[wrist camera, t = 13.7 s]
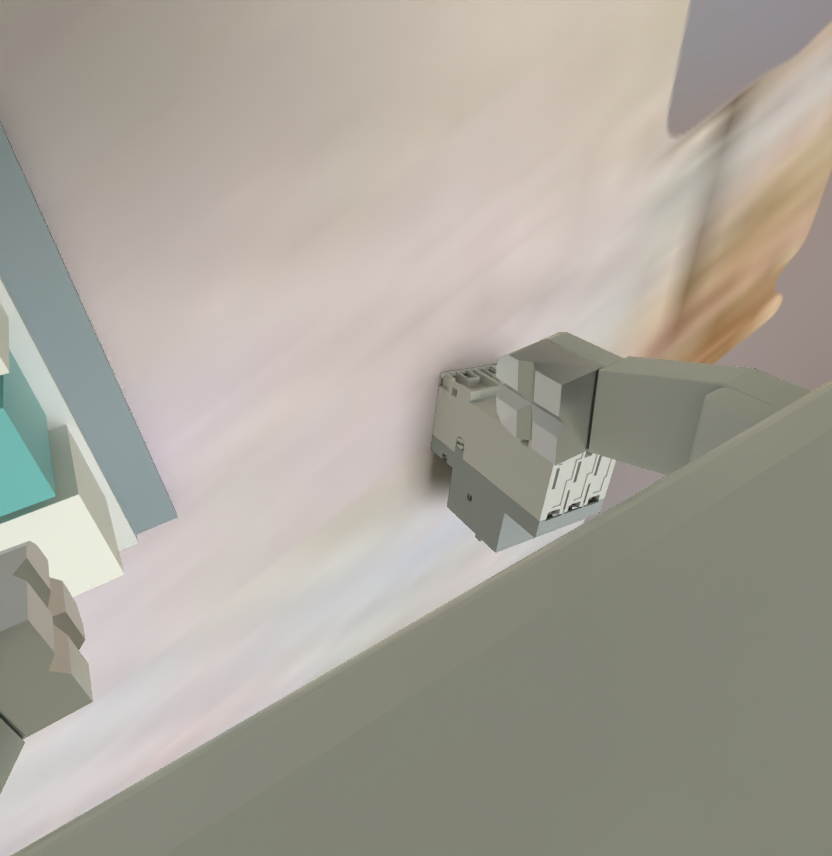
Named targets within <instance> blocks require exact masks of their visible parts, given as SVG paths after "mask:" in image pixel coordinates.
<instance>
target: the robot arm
mask: <svg viewBox="0 0 832 856" xmlns="http://www.w3.org/2000/svg"><path fill="white" fill-rule="evenodd" d="M496 378H497V379H498V380H499V381H500V382H501V383H502V386H501V388H500V390H499V392H498V394H497V396H496V406H497V413H498V416H499V418H500V421H501V423H502V425H503V426H504V427H505V428H506V430H507V431H508V432H509V433H511V434H512V435H513V436H515V437H516V438H520V439H525V440H530V444H531V449H532V450H534V451H535V452H537V453H538V454H539V455H541V456H542V457H543V458H545V459H546V460H548V461H549V462H550V463H552V464H553V465H555V466H556V465H558V464H560V463H562V462H564V461H566V460H568V459H570V458H572V457H575V456H577V455H579V454H581V453H583V452H585V451H587V450H589V451H588V452H590V453H593V454H597V455H600V456H604V457H607V458H610V459H614V460H617V461H621V462H624V463H628V464H631V465H634V466H638V467H641V468H644V469H648V470H651V471H655V472H658V473H662V474H665V475H667V476H665V477H664V478H662V479H660V480H658V481H657V482H655V483H653V484H651V485H650V486H648V487H647V488H645V489H643V490H641V491H639V492H638V493H636V494H635V495H632V496H631V497H629V498H627V499H625V500H624V501H622V502H620V503H619V504H617V505H615V506H613V507H612V508H610V509H608V510H607V511H605V512H603V513H601V514H600V515H598V516H596V517H594V518H593V519H591V520H589V521H587V522H586V523H584V524H582V525H580V526H579V527H577V528H575V529H574V530H572V531H570V532H568V533H567V534H565V535H563V536H561V537H560V538H558V539H556V540H554V541H553V542H551V543H549V544H548V545H546V546H544V547H542V548H541V549H539V550H537V551H535V552H534V553H532V554H530V555H529V556H527V557H525V558H523V559H522V560H520V561H518V562H516V563H515V564H513V565H511V566H510V567H508V568H506V569H504V570H503V571H501V572H499V573H497V574H496V575H494V576H492V577H491V578H489V579H487V580H485V581H484V582H482V583H480V584H479V585H477V586H475V587H473V588H472V589H470V590H468V591H466V592H465V593H463V594H461V595H460V596H458V597H456V598H454V599H453V600H451V601H449V602H447V603H446V604H444V605H442V606H441V607H439V608H437V609H435V610H434V611H432V612H430V613H428V614H427V615H425V616H423V617H422V618H420V619H418V620H416V621H415V622H413V623H411V624H409V625H408V626H406V627H404V628H403V629H401V630H399V631H397V632H396V633H394V634H392V635H390V636H389V637H387V638H385V639H384V640H382V641H380V642H378V643H377V644H375V645H373V646H372V647H370V648H368V649H366V650H365V651H363V652H361V653H359V654H358V655H356V656H354V657H353V658H351V659H349V660H347V661H346V662H344V663H342V664H340V665H339V666H337V667H335V668H334V669H332V670H330V671H328V672H327V673H325V674H323V675H321V676H320V677H318V678H316V679H315V680H313V681H311V682H309V683H308V684H306V685H304V686H302V687H301V688H299V689H297V690H296V691H294V692H292V693H290V694H289V695H287V696H285V697H283V698H282V699H280V700H278V701H277V702H275V703H273V704H271V705H270V706H268V707H266V708H264V709H263V710H261V711H259V712H258V713H256V714H254V715H252V716H251V717H249V718H247V719H245V720H244V721H242V722H240V723H239V724H237V725H235V726H233V727H232V728H230V729H228V730H226V731H225V732H223V733H221V734H220V735H218V736H216V737H214V738H213V739H211V740H209V741H208V742H206V743H204V744H202V745H201V746H199V747H197V748H195V749H194V750H192V751H190V752H189V753H187V754H185V755H183V756H182V757H180V758H178V759H176V760H175V761H173V762H171V763H170V764H168V765H166V766H164V767H163V768H161V769H159V770H157V771H156V772H154V773H152V774H151V775H149V776H147V777H145V778H144V779H142V780H140V781H138V782H137V783H135V784H133V785H132V786H130V787H128V788H126V789H125V790H123V791H121V792H119V793H118V794H116V795H114V796H113V797H111V798H109V799H107V800H106V801H104V802H102V803H100V804H99V805H97V806H95V807H94V808H92V809H90V810H88V811H87V812H85V813H83V814H81V815H80V816H78V817H76V818H75V819H73V820H71V821H69V822H68V823H66V824H64V825H62V826H61V827H59V828H57V829H56V830H54V831H52V832H50V833H49V834H47V835H45V836H44V837H42V838H40V839H38V840H37V841H35V842H33V843H31V844H30V845H28V846H26V847H25V848H23V849H21V850H19V851H18V852H16V853H14V854H12V855H11V856H832V380H831V381H829V382H827V383H826V384H824V385H822V386H821V387H819V388H817V389H815V390H814V391H810V390H808V389H805V388H803V387H800V386H798V385H795V384H793V383H790V382H788V381H785V380H783V379H780V378H778V377H775V376H773V375H770V374H768V373H766V372H763V371H761V370H758V369H756V368H746V367H736V366H725V365H715V364H704V363H694V362H683V361H673V360H663V359H652V358H642V357H631V356H629V357H627V358H624V359H623V358H621V357H619V356H617V355H615V354H613V353H611V352H608V351H606V350H604V349H602V348H600V347H598V346H596V345H593V344H591V343H589V342H587V341H585V340H583V339H580V338H578V337H576V336H574V335H572V334H570V333H568V332H558V333H556V334H554V335H551V336H549V337H547V338H544V339H542V340H540V341H539V342H536V343H534V344H532V345H529V346H527V347H524V348H522V349H519V350H517V351H514V352H512V353H510V354H507V355H505V356H502V357H500V358H499V361H498V363H497V366H496ZM84 641H85V635H84V629H83V623H82V620H81V617H80V614H79V611H78V608H77V605H76V603H75V601H74V599H73V597H72V596H71V594H70V592H69V590H68V589H67V587H66V586H65V584H64V583H63V581H61V580H57V579H54V578H50V577H49V566H48V559H47V558H46V557H45V555H44V554H43V553H42V551H41V550H40V549H39V547H38V546H37V545H36V544H35V543H33V542H31V541H27V542H24V543H22V544H19V545H16V546H13V547H11V548H8V549H5V550H3V551H0V793H1V791H2V789H3V787H4V785H5V783H6V781H7V779H8V777H9V775H10V772H11V770H12V768H13V766H14V764H15V762H16V760H17V758H18V756H19V754H20V752H21V749H22V747H23V745H24V743H25V742H24V741H23V739H24V738H26V737H28V736H30V735H32V734H34V733H36V732H37V731H39V730H41V729H43V728H45V727H47V726H49V725H50V724H52V723H54V722H56V721H58V720H60V719H62V718H63V717H65V716H67V715H69V714H71V713H73V712H75V711H76V710H78V709H80V708H82V707H84V706H86V705H88V704H89V703H91V702H93V699H92V691H91V682H90V674H89V666H88V663H87V661H86V660H85V658H84V657H83V656H82V654H81V653H80V651H79V649H80V647H81V646H82V644H83V642H84Z"/></svg>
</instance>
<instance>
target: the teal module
mask: <svg viewBox="0 0 832 856" xmlns="http://www.w3.org/2000/svg"><path fill="white" fill-rule="evenodd" d="M55 496H56V492H55V484H54V476H53V467H52V459H51V451H50V443H49V435H48V427H47V418H46V414H45V413H44V411H43V409H42V407H41V405H40V404H39V402H38V400H37V398H36V396H35V395H34V393H33V391H32V389H31V387H30V385H29V384H28V382H27V380H26V378H25V376H24V375H23V373H22V371H21V369H20V367H19V365H18V364H17V362H16V360H15V358H14V356H13V355H12V353H11V351H10V349H9V373H6V374H3V375H0V517H1V516H4V515H7V514H9V513H12V512H15V511H17V510H20V509H23V508H25V507H28V506H31V505H33V504H36V503H39V502H41V501H44V500H47V499H50V498H52V497H55Z"/></svg>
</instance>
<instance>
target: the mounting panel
mask: <svg viewBox="0 0 832 856" xmlns="http://www.w3.org/2000/svg"><path fill="white" fill-rule="evenodd" d="M9 349H10V351H11V353H12V355H13V356H14V358H15V360H16V362H17V364H18V365H19V367H20V369H21V371H22V373H23V375H24V376H25V378H26V380H27V382H28V384H29V385H30V387H31V389H32V391H33V393H34V395H35V396H36V398H37V400H38V402H39V404H40V405H41V407H42V409H43V411H44V413H45V414H46V418H47V427H48V435H49V443H50V451H51V459H52V467H53V476H54V484H55V492H56V496H55V497H52V498H50V499H47V500H44V501H41V502H39V503H36V504H33V505H31V506H28V507H25V508H23V509H20V510H17V511H15V512H12V513H9V514H7V515H4V516H1V517H0V551H3V550H5V549H8V548H11V547H13V546H16V545H19V544H22V543H24V542H27V541H31V542H33V543H35V544H36V545H37V546H38V547H39V549H40V550H41V551H42V553H43V554H44V555H45V557H46V558H47V559H48V566H49V577H50V578H54V579H57V580H61V581H63V583H64V584H65V586H66V587H67V589H68V590H69V592H70V594H71V596H72V597H74V596H77V595H79V594H81V593H83V592H86V591H88V590H90V589H92V588H95V587H97V586H99V585H101V584H104V583H106V582H108V581H110V580H113V579H115V578H117V577H119V576H122V575H124V570H123V566H122V562H121V558H120V554H119V551H121V550H123V549H125V548H128V547H130V546H132V545H135V544H137V543H139V542H138V539H137V534H139V533H141V532H144V531H146V530H149V529H151V528H153V527H156V526H158V525H160V524H163V523H165V522H167V521H170V520H172V519H175V518H177V517H178V516H177V514H176V511H175V509H174V507H173V504H172V502H171V500H170V498H169V496H168V493H167V491H166V489H165V487H164V484H163V482H162V480H161V478H160V476H159V473H158V471H157V469H156V467H155V465H154V462H153V460H152V458H151V456H150V453H149V451H148V449H147V447H146V445H145V442H144V440H143V438H142V436H141V433H140V431H139V429H138V427H137V425H136V422H135V420H134V418H133V416H132V413H131V411H130V409H129V407H128V405H127V402H126V400H125V398H124V396H123V394H122V391H121V389H120V387H119V385H118V382H117V380H116V378H115V376H114V374H113V371H112V369H111V367H110V365H109V362H108V360H107V358H106V356H105V354H104V351H103V349H102V347H101V345H100V342H99V340H98V338H97V336H96V334H95V331H94V329H93V327H92V325H91V323H90V320H89V318H88V316H87V314H86V311H85V309H84V307H83V305H82V303H81V300H80V298H79V296H78V294H77V291H76V289H75V287H74V285H73V283H72V280H71V278H70V276H69V274H68V271H67V269H66V267H65V265H64V263H63V260H62V258H61V256H60V254H59V252H58V249H57V247H56V245H55V243H54V240H53V238H52V236H51V234H50V232H49V229H48V227H47V225H46V223H45V220H44V218H43V216H42V214H41V212H40V209H39V207H38V205H37V203H36V200H35V198H34V196H33V194H32V192H31V189H30V187H29V185H28V183H27V181H26V178H25V176H24V174H23V172H22V169H21V167H20V165H19V163H18V161H17V158H16V156H15V154H14V152H13V149H12V147H11V145H10V143H9V141H8V138H7V136H6V134H5V132H4V129H3V127H2V125H1V123H0V375H3V374H6V373H9Z"/></svg>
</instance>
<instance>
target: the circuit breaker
mask: <svg viewBox="0 0 832 856" xmlns="http://www.w3.org/2000/svg"><path fill="white" fill-rule="evenodd" d="M496 366H497V364H492V365H486V366H479V367H473V368H466V369H460V370H454V371H447V372H441V373H440V377H441V378H443V382H442V385H441V386H439V387H438V395H437V403H436V411H435V419H434V427H433V435H432V443H431V450H432V451H433V452H434V453H436V454H437V455H438V456H439V457H440V458H441V459H443V458H446V459H447V461H446V463H447V464H448V465H450V466H451V467H452V476H451V483H450V490H449V497H448V503H447V507H448V508H449V509H450V510H451V511H452V512H453V513H454V514H455V515H456V516H457V517H458V518H459V519H461V520H462V521H463V522H464V523H465V524H466V525H467V526H468V527H469V528H470V529H471V530H472V531H473V532H474V533H475V537H476V538H477V539H478V540H479V541H484V542H485V543H486V544H487V545H488V546H489V547H490V548H491V549H492V550H493V551H494V552H499V551H501V550H504V549H507V548H509V547H512V546H514V545H517V544H520V543H522V542H525V541H527V540H530V539H533V538H535V537H538V536H541V535H543V534H546V533H549V532H551V531H554V530H556V529H559V528H562V527H564V526H567V525H570V524H572V523H575V522H578V521H580V520H583V519H585V518H588V517H591V516H593V515H596V514H598V513H600V510H601V507H602V504H603V501H604V497H605V494H606V491H607V488H608V484H609V481H610V478H611V475H612V472H613V468H614V465H615V462H616V460H614V459H610V458H607V457H604V456H600V455H597V454H593V453H590V452H588V451H589V450H587V451H585V452H583V453H581V454H579V455H577V456H575V457H572V458H570V459H568V460H566V461H564V462H562V463H560V464H558V465H556V466H555V465H553V464H552V463H550V462H549V461H548V460H546V459H545V458H543V457H542V456H541V455H539V454H538V453H537V452H535V451H534V450H532V449H531V444H530V440H525V439H520V438H516V437H515V436H513V435H512V434H511V433H509V432H508V431H507V430H506V428H505V427H504V426H503V425H502V423H501V421H500V418H499V416H498V413H497V406H496V396H497V394H498V392H499V390H500V388H501V386H502V383H501V382H500V381H499V380H498V379H497V378H496ZM488 370H489V371H488ZM463 374H466V375H463ZM572 507H578V508H575V509H572Z"/></svg>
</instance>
